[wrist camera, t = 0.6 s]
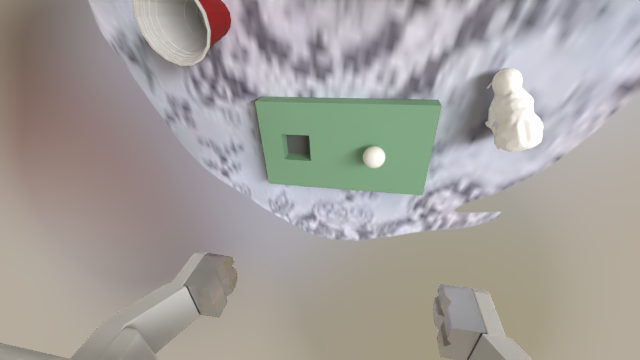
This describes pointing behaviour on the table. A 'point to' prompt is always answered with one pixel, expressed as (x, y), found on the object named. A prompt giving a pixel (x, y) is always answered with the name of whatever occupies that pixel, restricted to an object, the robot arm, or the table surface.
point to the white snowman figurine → (513, 113)
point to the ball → (373, 157)
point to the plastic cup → (182, 27)
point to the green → (347, 142)
